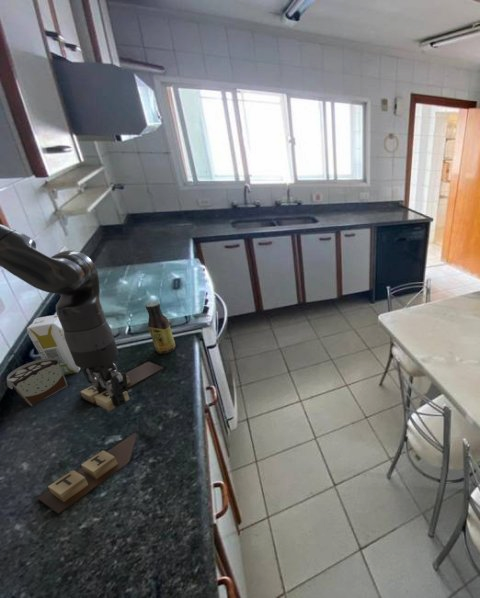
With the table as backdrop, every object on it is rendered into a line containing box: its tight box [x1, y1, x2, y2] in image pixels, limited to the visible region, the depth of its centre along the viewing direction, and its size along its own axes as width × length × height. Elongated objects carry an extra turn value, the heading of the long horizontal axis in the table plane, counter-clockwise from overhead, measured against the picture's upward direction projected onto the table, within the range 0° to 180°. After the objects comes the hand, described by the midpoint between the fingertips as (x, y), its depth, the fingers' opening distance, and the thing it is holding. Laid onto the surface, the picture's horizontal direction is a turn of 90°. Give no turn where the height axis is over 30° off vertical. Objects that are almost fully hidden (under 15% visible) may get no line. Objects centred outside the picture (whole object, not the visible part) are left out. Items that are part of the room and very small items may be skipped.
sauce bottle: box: [145, 301, 177, 355], centre depth 119 cm, size 7×6×20 cm
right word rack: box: [80, 361, 165, 407], centre depth 106 cm, size 20×8×3 cm, turn 158°
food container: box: [6, 358, 69, 407], centre depth 97 cm, size 12×6×10 cm, turn 168°
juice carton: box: [26, 314, 81, 376], centre depth 106 cm, size 8×9×19 cm
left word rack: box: [36, 432, 138, 516], centre depth 78 cm, size 20×8×3 cm, turn 158°
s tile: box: [95, 390, 130, 412], centre depth 79 cm, size 4×4×3 cm
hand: (113, 401), depth 80 cm, fingers closed on s tile, 4 cm apart
